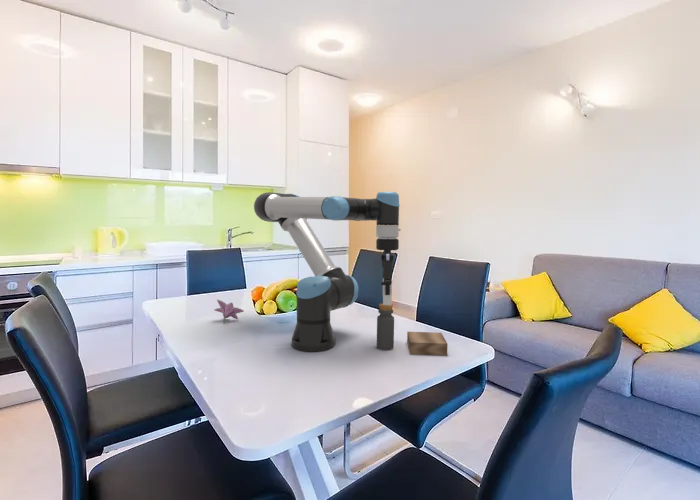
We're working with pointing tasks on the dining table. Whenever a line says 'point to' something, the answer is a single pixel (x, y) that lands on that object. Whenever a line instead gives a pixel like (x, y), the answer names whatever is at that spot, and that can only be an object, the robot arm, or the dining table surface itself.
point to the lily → (228, 310)
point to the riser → (426, 343)
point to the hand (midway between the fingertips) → (386, 300)
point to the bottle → (385, 327)
